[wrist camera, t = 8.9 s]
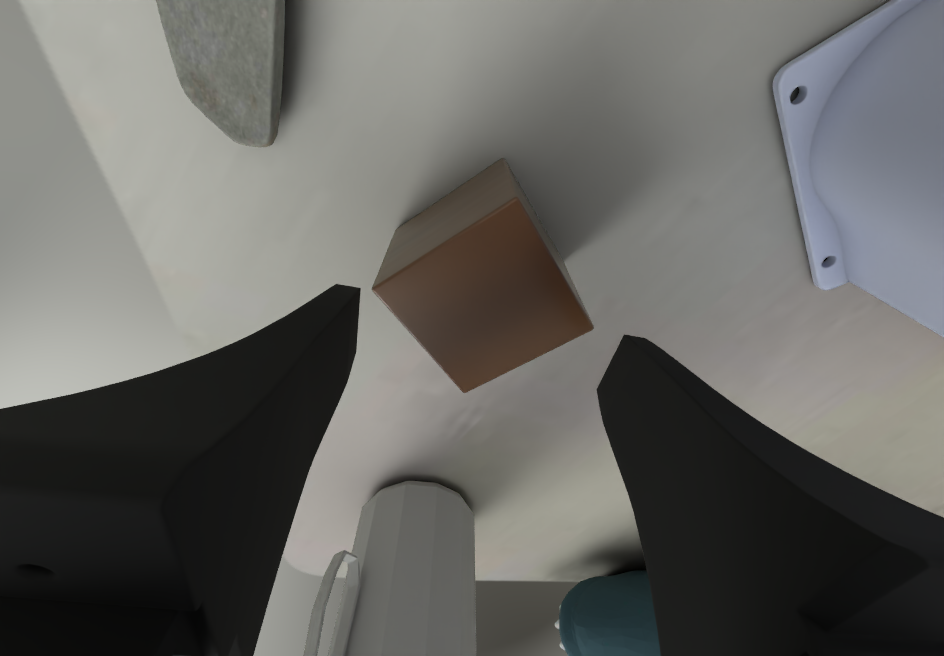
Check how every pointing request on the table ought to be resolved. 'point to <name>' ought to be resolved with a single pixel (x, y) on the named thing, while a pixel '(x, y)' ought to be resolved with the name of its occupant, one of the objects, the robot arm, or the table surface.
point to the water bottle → (405, 578)
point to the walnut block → (481, 281)
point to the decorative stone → (230, 62)
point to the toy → (609, 617)
